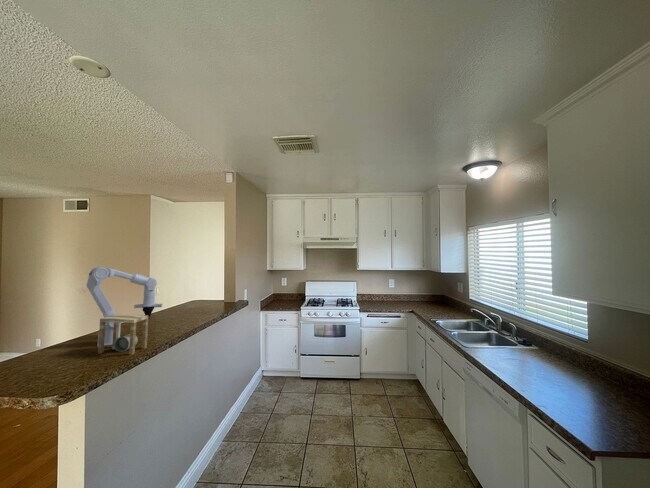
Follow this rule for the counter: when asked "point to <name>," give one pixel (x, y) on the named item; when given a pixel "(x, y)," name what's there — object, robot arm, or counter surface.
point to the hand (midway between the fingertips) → (147, 319)
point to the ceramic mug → (123, 343)
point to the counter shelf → (116, 320)
